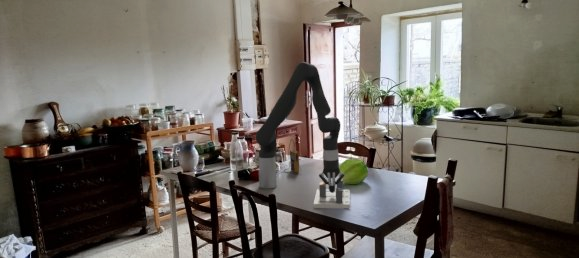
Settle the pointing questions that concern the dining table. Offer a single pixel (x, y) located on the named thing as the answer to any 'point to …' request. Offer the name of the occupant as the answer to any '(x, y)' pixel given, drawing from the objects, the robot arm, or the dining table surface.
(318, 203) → the breaker panel
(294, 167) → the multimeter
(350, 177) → the lettuce
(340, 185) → the block
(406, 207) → the dining table surface
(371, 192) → the dining table surface
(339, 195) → the block
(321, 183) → the block
